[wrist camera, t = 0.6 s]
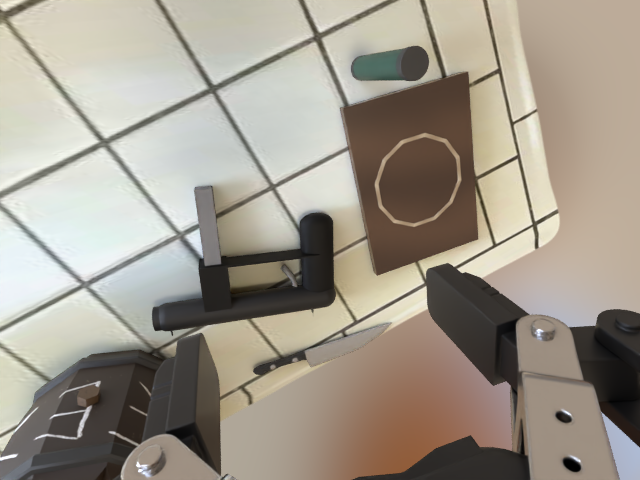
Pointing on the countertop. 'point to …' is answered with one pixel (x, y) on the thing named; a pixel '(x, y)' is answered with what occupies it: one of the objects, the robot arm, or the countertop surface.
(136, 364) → the coffee canister
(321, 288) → the door handle
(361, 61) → the marker
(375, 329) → the chef's knife
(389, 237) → the drawing board
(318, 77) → the countertop surface
